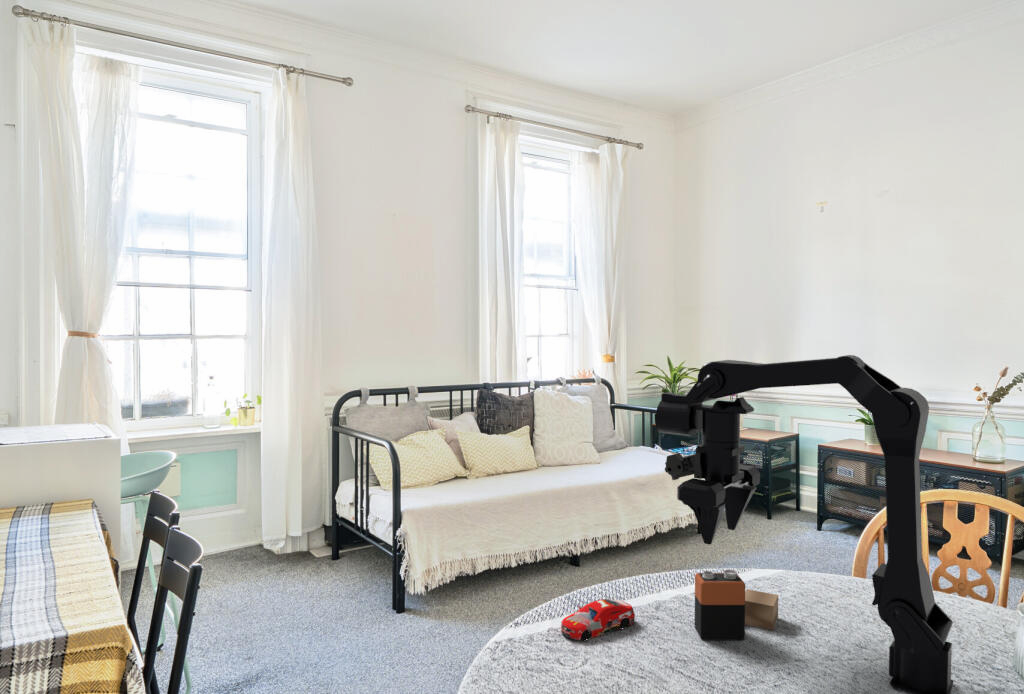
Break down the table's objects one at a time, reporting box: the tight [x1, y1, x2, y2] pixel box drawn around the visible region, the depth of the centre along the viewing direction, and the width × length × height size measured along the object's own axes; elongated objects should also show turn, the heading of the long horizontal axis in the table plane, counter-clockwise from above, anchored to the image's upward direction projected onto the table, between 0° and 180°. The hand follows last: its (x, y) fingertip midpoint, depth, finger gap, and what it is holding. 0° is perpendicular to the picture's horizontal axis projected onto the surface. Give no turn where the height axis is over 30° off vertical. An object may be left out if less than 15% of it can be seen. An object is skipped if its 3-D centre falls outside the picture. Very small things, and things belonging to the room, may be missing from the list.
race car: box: [560, 598, 636, 642], centre depth 109 cm, size 13×5×4 cm, turn 121°
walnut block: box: [745, 588, 779, 631], centre depth 112 cm, size 5×5×4 cm
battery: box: [694, 569, 746, 641], centre depth 107 cm, size 4×7×10 cm, turn 89°
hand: (719, 536), depth 109 cm, fingers open, 9 cm apart
